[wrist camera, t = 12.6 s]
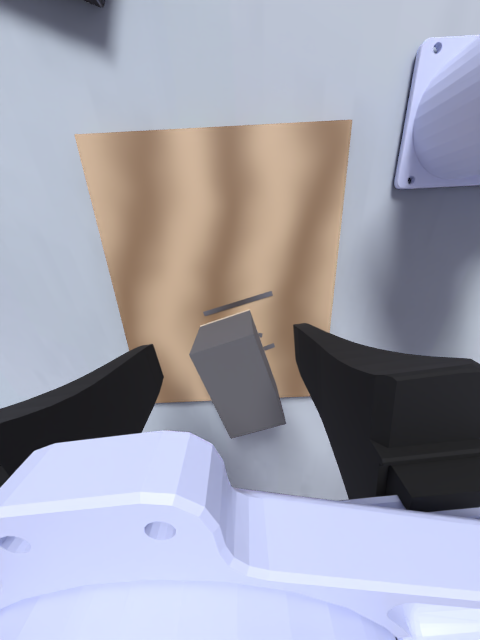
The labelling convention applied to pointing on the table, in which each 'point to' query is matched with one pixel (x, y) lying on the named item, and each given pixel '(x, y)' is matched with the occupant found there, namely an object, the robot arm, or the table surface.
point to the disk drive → (96, 2)
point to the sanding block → (237, 374)
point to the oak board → (220, 235)
